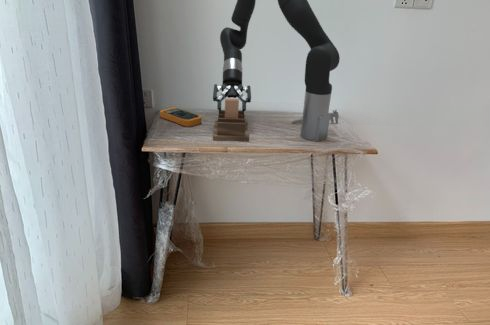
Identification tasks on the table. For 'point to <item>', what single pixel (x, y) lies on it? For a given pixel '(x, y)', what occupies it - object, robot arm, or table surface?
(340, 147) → the table surface
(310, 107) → the robot arm
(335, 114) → the caliper
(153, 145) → the table surface
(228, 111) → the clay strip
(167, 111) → the multimeter
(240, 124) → the ridged wooden board
